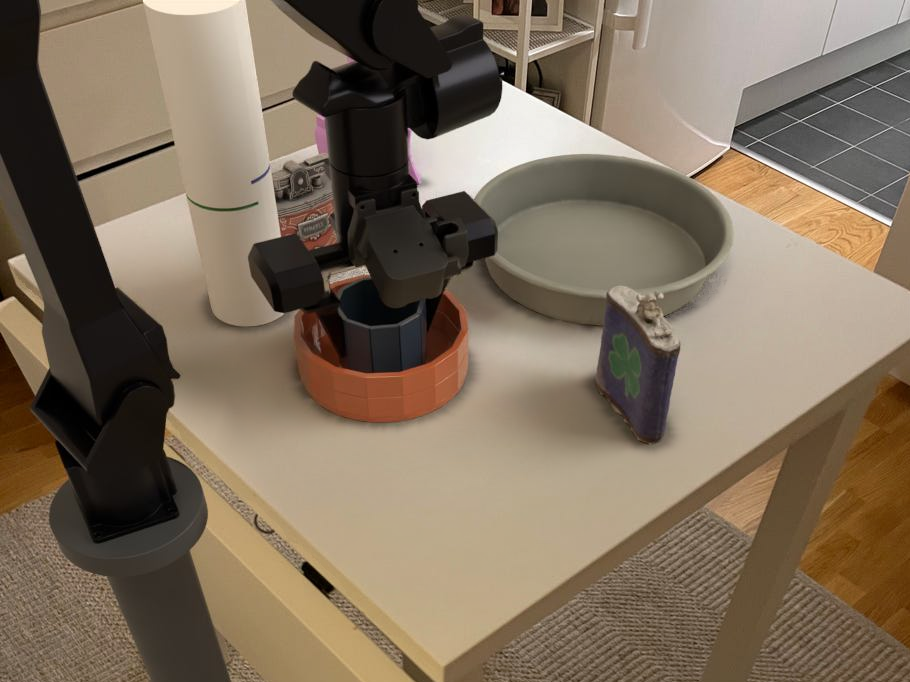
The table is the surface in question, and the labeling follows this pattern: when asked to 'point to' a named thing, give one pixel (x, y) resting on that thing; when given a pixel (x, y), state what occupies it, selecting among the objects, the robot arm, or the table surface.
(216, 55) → the cylindrical container
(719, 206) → the cake pan
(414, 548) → the table surface
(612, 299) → the flask
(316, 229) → the lighter
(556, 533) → the table surface
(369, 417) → the orange bowl
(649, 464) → the table surface
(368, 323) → the small bowl
